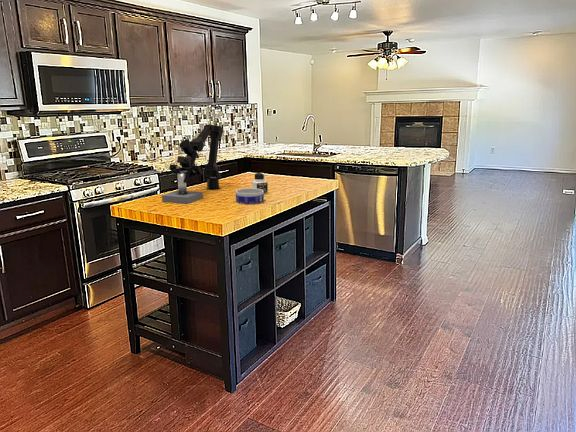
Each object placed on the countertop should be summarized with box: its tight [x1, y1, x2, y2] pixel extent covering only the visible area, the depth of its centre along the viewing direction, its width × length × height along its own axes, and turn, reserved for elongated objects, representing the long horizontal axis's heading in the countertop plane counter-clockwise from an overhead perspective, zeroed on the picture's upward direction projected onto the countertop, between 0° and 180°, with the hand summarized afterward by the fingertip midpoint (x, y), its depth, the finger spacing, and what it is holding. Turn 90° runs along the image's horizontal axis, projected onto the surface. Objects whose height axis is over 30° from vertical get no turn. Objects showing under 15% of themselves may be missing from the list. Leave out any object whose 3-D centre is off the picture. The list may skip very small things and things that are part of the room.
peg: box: [177, 172, 188, 194], centre depth 244 cm, size 4×4×11 cm
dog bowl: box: [235, 187, 265, 205], centre depth 242 cm, size 15×15×6 cm
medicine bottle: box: [251, 172, 269, 195], centre depth 262 cm, size 7×7×12 cm
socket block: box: [161, 189, 204, 205], centre depth 246 cm, size 16×16×4 cm
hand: (180, 182), depth 242 cm, fingers closed on peg, 4 cm apart
